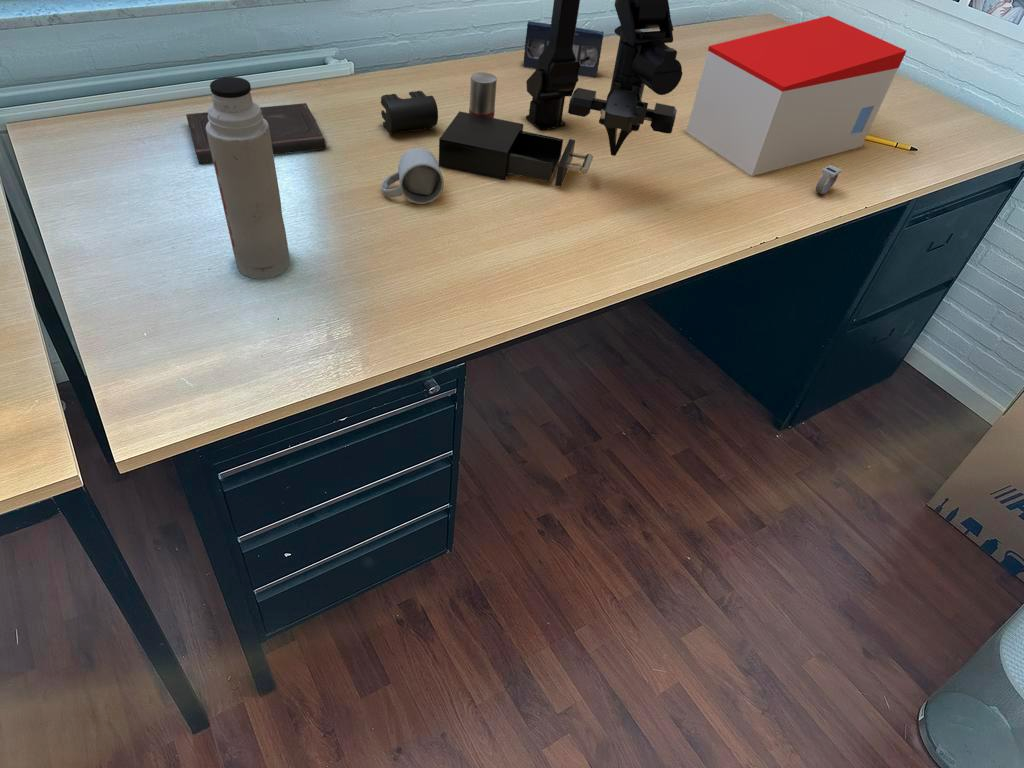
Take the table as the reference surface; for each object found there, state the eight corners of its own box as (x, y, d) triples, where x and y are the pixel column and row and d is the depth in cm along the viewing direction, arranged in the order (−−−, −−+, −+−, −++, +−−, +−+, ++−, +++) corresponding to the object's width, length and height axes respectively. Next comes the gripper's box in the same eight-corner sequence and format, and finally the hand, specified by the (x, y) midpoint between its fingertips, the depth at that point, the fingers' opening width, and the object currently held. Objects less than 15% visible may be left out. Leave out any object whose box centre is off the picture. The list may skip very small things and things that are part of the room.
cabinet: (520, 151, 144) (523, 123, 140) (504, 180, 135) (507, 152, 131) (458, 138, 145) (459, 111, 141) (438, 166, 137) (439, 138, 133)
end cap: (391, 140, 142) (390, 107, 137) (379, 125, 146) (378, 92, 142) (438, 134, 146) (438, 101, 141) (425, 119, 150) (425, 87, 145)
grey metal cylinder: (485, 117, 153) (488, 70, 146) (498, 128, 150) (501, 81, 143) (464, 121, 151) (466, 74, 144) (476, 132, 148) (478, 84, 141)
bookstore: (862, 146, 160) (907, 50, 145) (751, 176, 145) (789, 72, 130) (794, 107, 172) (829, 15, 157) (685, 131, 157) (712, 32, 142)
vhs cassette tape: (522, 66, 175) (526, 23, 168) (524, 62, 177) (528, 19, 170) (596, 78, 174) (603, 35, 167) (597, 73, 176) (604, 31, 169)
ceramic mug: (437, 180, 133) (437, 141, 127) (443, 203, 127) (444, 164, 122) (379, 182, 131) (377, 143, 125) (384, 206, 125) (381, 166, 120)
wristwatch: (823, 184, 145) (833, 162, 142) (835, 190, 144) (845, 167, 141) (808, 193, 142) (818, 171, 139) (820, 199, 141) (831, 176, 137)
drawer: (593, 163, 141) (596, 144, 138) (582, 191, 133) (586, 171, 130) (512, 147, 143) (514, 127, 140) (497, 173, 135) (499, 153, 132)
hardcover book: (188, 125, 139) (185, 114, 138) (307, 113, 147) (306, 102, 145) (199, 165, 129) (196, 153, 128) (326, 150, 137) (324, 138, 136)
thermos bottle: (231, 278, 107) (189, 94, 88) (241, 247, 113) (203, 68, 93) (286, 279, 108) (256, 98, 89) (293, 249, 114) (266, 72, 94)
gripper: (568, 77, 117) (556, 164, 128) (681, 99, 115) (658, 185, 126) (580, 53, 125) (567, 137, 136) (686, 73, 123) (664, 157, 134)
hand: (613, 154), depth 133 cm, fingers closed
